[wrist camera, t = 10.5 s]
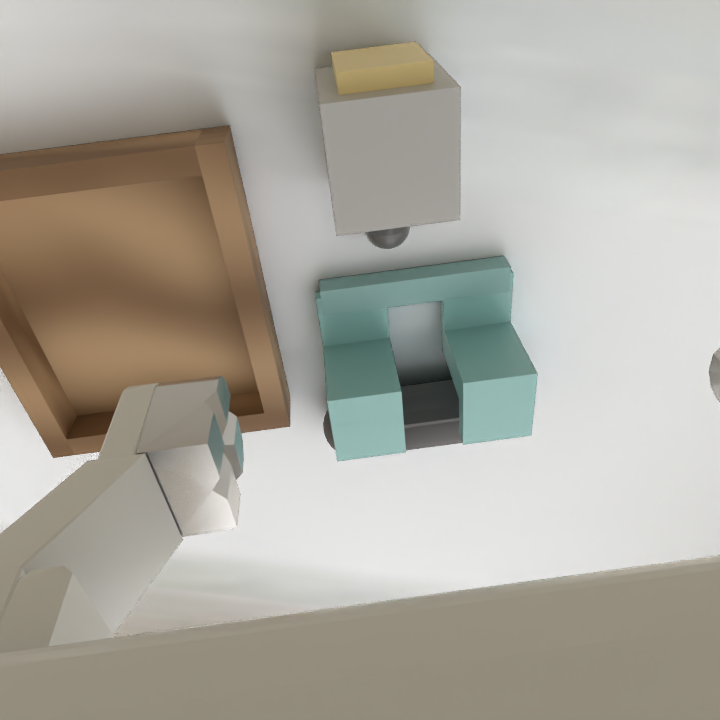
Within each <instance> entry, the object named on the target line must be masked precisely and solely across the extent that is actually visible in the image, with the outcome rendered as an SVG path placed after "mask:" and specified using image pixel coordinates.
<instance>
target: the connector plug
mask: <svg viewBox="0 0 720 720" xmlns="http://www.w3.org/2000/svg"><path fill="white" fill-rule="evenodd" d="M331 57H332V65H333V66H330V67H322V68H315V75H316V83H317V91H318V99H319V107H320V115H321V122H322V130H323V138H324V145H325V153H326V160H327V168H328V175H329V183H330V190H331V198H332V206H333V213H334V221H335V228H336V236H339V235H347V234H355V233H362V232H365V233H366V236H367V238H368V239H369V241H370V242H371V243H372V244H374V245H375V246H377V247H379V248H383V249H390V248H394V247H397V246H399V245H400V244H401V243H403V242H404V240H405V239H406V238H407V236H408V234H409V230H410V226H417V225H424V224H432V223H440V222H448V221H455V220H460V128H461V87H460V86H459V84H458V83H457V82H456V81H455V80H454V79H453V78H452V77H451V76H450V75H449V74H448V73H447V72H446V71H445V70H444V69H443V68H442V67H441V66H440V65H439V64H438V63H437V62H436V61H435V59H434V58H433V57H432V56H431V55H430V54H427V53H426V52H425V51H424V50H423V49H422V48H421V47H420V45H419V44H418V43H417V42H408V43H400V44H392V45H384V46H376V47H368V48H360V49H352V50H344V51H336V52H331Z"/></svg>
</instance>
